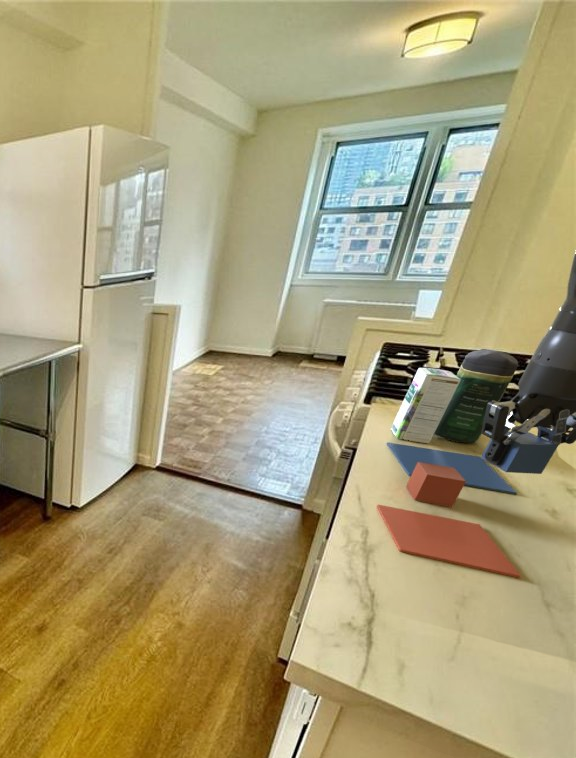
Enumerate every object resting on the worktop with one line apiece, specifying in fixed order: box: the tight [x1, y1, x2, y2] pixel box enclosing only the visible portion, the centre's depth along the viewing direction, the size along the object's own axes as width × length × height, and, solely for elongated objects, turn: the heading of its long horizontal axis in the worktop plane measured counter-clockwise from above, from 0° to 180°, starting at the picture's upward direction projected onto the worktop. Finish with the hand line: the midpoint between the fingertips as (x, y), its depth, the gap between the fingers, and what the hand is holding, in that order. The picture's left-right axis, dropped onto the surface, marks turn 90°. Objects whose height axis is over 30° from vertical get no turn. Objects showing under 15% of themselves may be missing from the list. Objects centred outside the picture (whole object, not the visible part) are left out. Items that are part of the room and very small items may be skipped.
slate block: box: [480, 430, 559, 475], centre depth 77 cm, size 5×5×5 cm
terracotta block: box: [406, 462, 466, 508], centre depth 81 cm, size 5×5×5 cm
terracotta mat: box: [376, 504, 522, 579], centre depth 72 cm, size 13×13×1 cm
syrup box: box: [390, 367, 461, 444], centre depth 101 cm, size 6×6×14 cm
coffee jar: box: [433, 348, 519, 444], centre depth 101 cm, size 10×8×19 cm
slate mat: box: [386, 441, 518, 495], centre depth 92 cm, size 15×15×1 cm
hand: (511, 463), depth 78 cm, fingers closed on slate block, 5 cm apart
